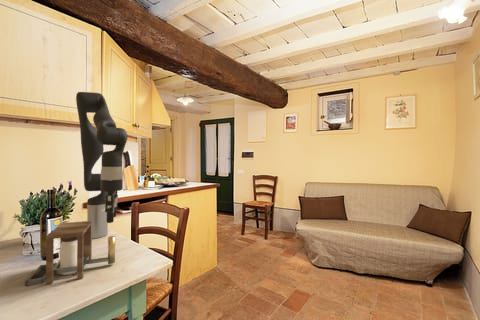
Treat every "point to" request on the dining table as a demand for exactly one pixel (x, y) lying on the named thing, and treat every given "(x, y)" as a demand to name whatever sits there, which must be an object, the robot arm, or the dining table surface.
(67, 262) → the can
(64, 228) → the brown wooden stool
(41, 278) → the pit trap
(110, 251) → the lever handle
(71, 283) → the dining table surface
